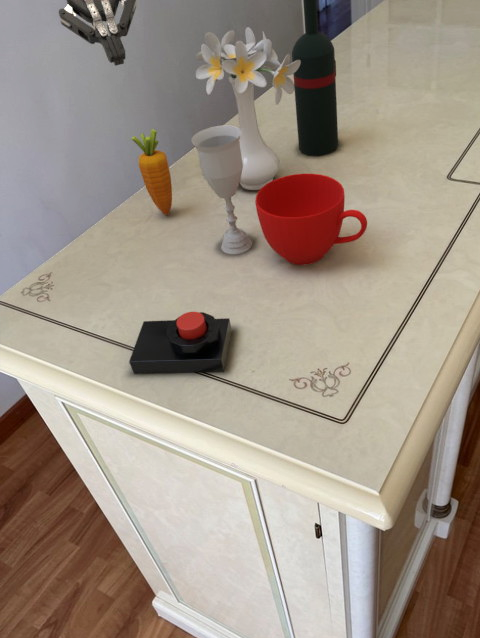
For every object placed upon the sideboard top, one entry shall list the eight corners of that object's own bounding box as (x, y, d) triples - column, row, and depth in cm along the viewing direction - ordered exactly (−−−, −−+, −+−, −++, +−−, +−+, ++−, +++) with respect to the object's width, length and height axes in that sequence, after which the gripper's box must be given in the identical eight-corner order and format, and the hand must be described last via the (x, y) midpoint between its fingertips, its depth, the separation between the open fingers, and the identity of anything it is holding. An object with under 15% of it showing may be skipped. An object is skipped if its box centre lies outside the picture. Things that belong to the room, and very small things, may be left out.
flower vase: (291, 205, 102) (276, 49, 85) (201, 193, 109) (169, 46, 92) (319, 171, 110) (310, 21, 93) (233, 161, 117) (210, 20, 99)
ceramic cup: (348, 291, 84) (346, 230, 77) (248, 267, 91) (238, 208, 84) (383, 244, 91) (384, 184, 84) (288, 224, 98) (282, 167, 91)
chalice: (241, 228, 99) (222, 121, 86) (267, 242, 95) (251, 132, 82) (206, 247, 96) (181, 139, 83) (231, 263, 92) (210, 152, 79)
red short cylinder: (176, 340, 75) (173, 330, 73) (182, 322, 77) (179, 311, 76) (204, 339, 74) (201, 329, 73) (208, 321, 77) (206, 310, 75)
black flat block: (133, 373, 76) (124, 351, 74) (147, 333, 82) (139, 310, 79) (224, 371, 75) (218, 348, 72) (232, 330, 80) (227, 307, 78)
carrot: (149, 221, 104) (124, 138, 93) (159, 207, 107) (136, 124, 96) (175, 222, 103) (152, 138, 92) (184, 208, 106) (164, 124, 95)
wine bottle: (350, 137, 119) (346, -40, 98) (326, 158, 114) (317, -24, 93) (316, 132, 123) (306, -40, 102) (291, 153, 117) (275, -25, 96)
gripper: (31, -52, 87) (75, 58, 88) (117, -70, 90) (159, 37, 91) (40, -17, 95) (81, 85, 95) (119, -34, 98) (158, 65, 98)
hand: (119, 61), depth 93 cm, fingers closed
